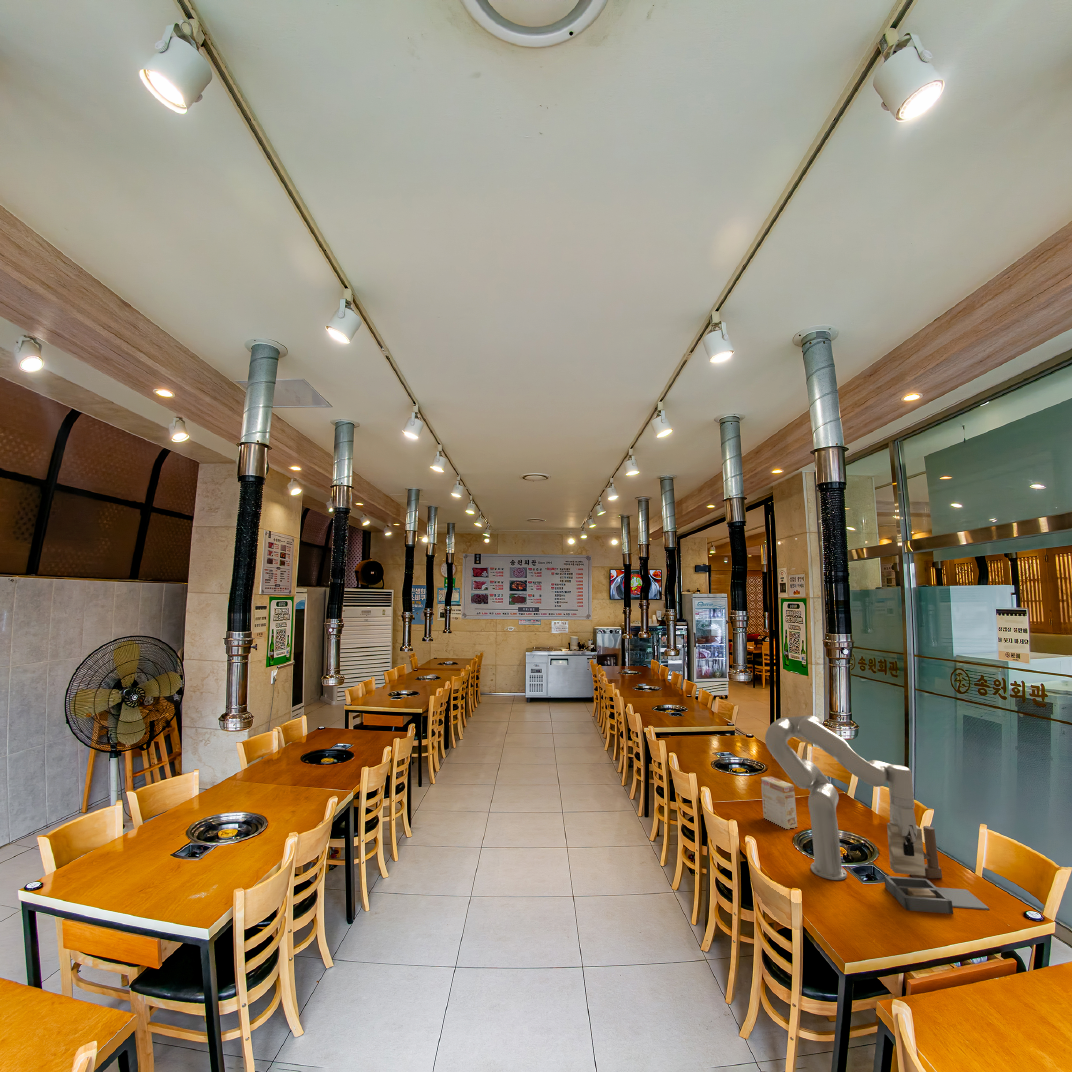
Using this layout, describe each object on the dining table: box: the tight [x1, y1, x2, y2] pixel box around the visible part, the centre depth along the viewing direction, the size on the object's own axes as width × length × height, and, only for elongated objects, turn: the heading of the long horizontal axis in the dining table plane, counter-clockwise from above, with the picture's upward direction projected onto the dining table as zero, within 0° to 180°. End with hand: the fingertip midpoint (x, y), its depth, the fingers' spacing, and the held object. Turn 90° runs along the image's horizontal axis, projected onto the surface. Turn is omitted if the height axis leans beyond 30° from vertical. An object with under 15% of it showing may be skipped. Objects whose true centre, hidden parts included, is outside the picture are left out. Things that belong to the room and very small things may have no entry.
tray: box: [883, 875, 954, 915], centre depth 183 cm, size 15×15×4 cm
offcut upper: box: [908, 888, 936, 898], centre depth 180 cm, size 4×7×2 cm, turn 84°
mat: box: [936, 886, 990, 911], centre depth 184 cm, size 12×13×1 cm
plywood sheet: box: [886, 822, 926, 876], centre depth 189 cm, size 4×10×16 cm, turn 80°
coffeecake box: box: [760, 776, 798, 830], centre depth 251 cm, size 15×7×20 cm, turn 19°
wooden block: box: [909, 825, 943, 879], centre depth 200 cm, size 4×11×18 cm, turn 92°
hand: (906, 852), depth 189 cm, fingers closed on plywood sheet, 3 cm apart
